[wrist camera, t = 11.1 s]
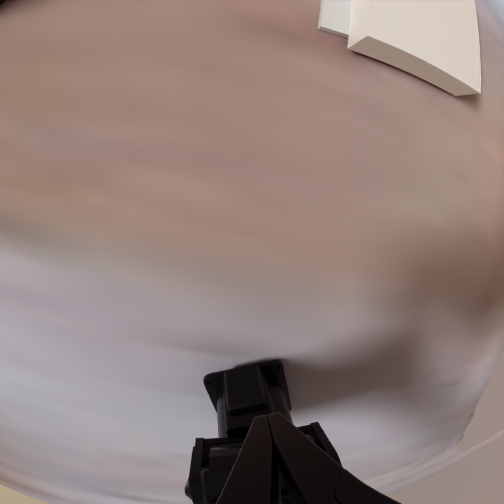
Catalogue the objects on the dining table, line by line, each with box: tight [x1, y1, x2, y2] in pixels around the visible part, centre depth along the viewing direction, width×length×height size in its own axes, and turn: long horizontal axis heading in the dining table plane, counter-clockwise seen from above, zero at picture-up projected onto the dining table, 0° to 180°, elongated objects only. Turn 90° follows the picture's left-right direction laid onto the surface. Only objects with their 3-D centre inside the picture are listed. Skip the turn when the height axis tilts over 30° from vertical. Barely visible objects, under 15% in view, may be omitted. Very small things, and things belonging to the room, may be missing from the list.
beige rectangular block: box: [347, 0, 481, 96], centre depth 14 cm, size 3×10×12 cm
